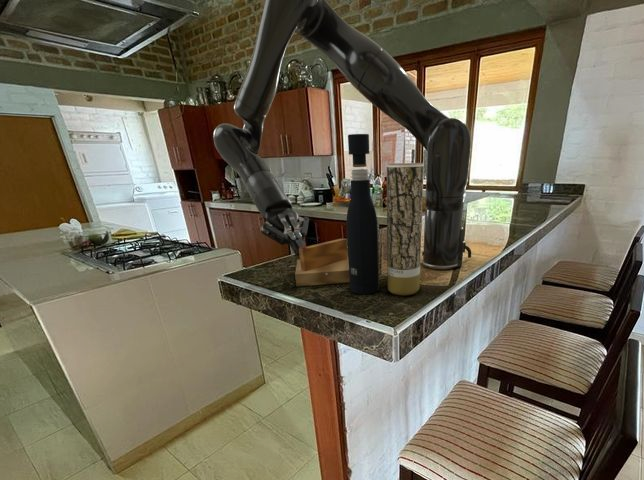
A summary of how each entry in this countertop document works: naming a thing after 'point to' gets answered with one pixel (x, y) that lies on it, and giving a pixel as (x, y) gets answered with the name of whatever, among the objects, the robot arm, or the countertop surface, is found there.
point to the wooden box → (323, 274)
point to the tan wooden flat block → (322, 254)
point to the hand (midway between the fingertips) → (303, 255)
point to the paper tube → (404, 226)
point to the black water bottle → (361, 223)
